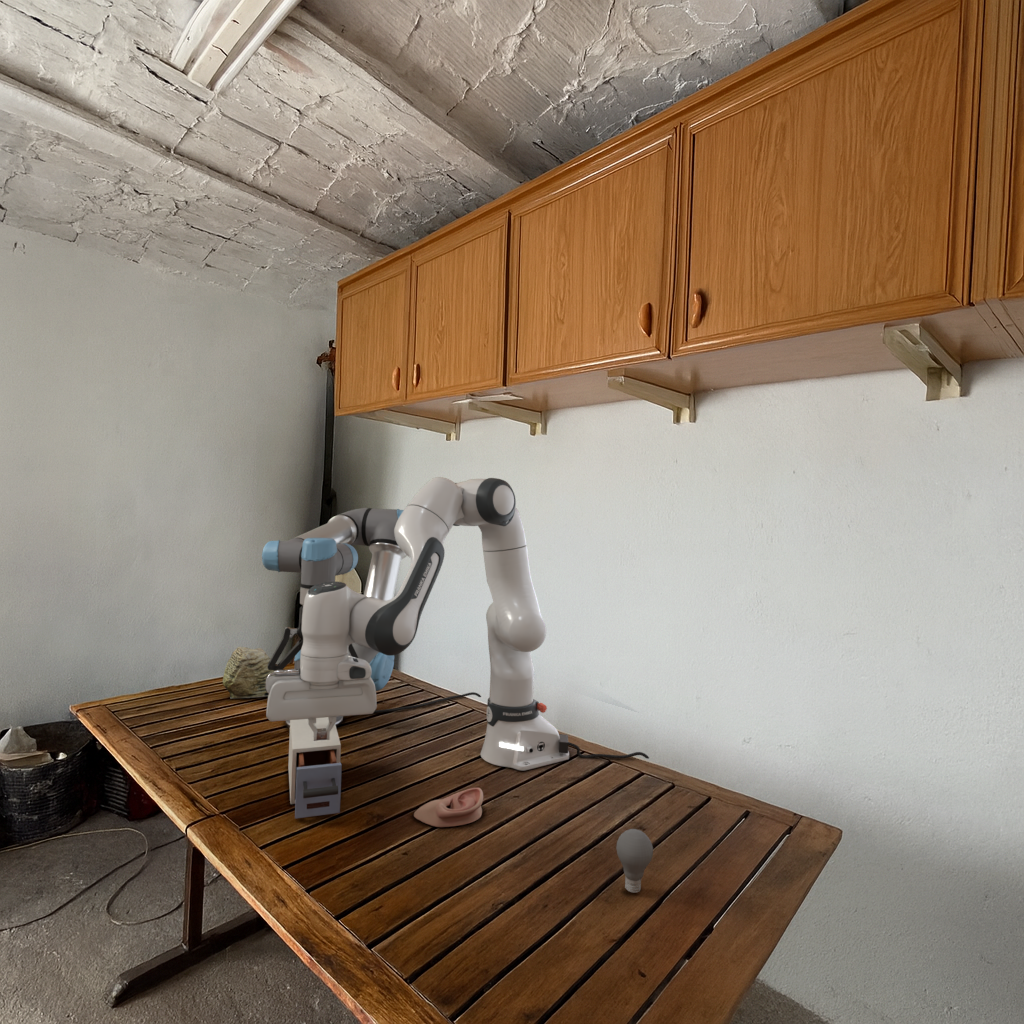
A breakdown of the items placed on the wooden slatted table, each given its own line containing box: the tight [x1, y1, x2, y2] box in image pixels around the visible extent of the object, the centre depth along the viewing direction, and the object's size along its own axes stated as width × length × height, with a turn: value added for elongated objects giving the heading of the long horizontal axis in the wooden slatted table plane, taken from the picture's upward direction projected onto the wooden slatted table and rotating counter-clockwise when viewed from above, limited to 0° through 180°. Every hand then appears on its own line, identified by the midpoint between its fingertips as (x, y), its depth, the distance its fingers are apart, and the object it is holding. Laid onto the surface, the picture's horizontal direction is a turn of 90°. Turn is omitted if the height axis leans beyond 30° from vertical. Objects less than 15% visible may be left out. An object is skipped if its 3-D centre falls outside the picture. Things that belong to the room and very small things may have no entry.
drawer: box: [294, 749, 343, 820], centre depth 130 cm, size 23×8×10 cm, turn 21°
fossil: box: [222, 646, 275, 699], centre depth 198 cm, size 9×18×15 cm, turn 132°
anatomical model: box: [413, 787, 484, 828], centre depth 129 cm, size 13×4×12 cm
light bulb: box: [615, 828, 654, 894], centre depth 106 cm, size 6×6×10 cm
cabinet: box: [287, 717, 342, 805], centre depth 140 cm, size 18×10×11 cm, turn 21°
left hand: (313, 697), depth 145 cm, fingers open, 13 cm apart
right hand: (321, 739), depth 121 cm, fingers closed
